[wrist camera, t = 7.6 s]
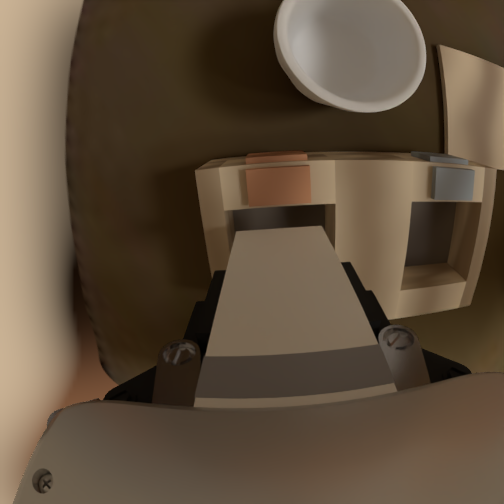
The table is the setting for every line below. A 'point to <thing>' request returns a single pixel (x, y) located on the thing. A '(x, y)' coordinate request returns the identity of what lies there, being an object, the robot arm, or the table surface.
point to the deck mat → (472, 107)
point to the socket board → (363, 216)
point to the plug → (289, 328)
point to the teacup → (350, 51)
